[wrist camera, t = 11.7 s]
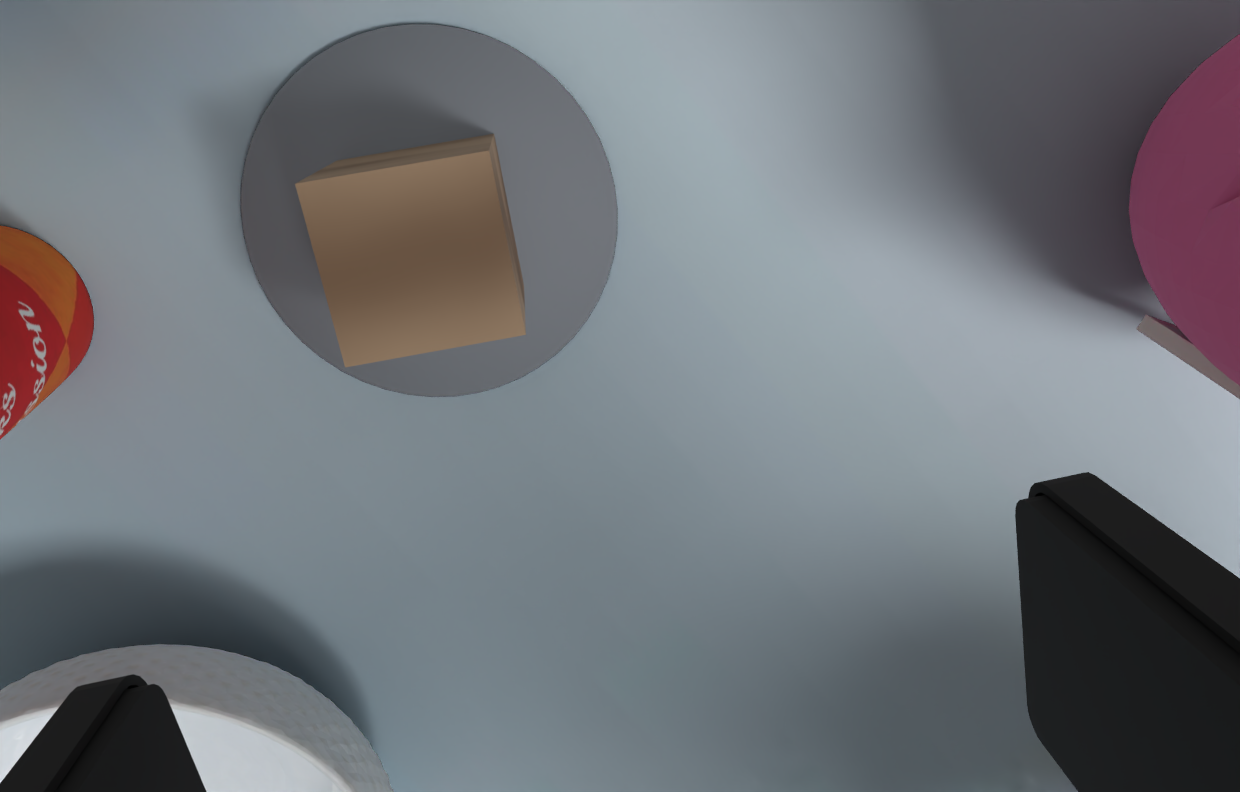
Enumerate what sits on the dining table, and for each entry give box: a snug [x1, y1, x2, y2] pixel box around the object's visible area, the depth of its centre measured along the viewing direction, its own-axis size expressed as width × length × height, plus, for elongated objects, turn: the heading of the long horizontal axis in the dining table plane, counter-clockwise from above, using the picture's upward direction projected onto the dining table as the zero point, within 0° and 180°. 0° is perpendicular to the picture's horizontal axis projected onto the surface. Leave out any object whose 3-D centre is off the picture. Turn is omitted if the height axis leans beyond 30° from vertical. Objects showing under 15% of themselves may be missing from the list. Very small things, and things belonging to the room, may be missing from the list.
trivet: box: [241, 24, 617, 397], centre depth 31 cm, size 12×12×1 cm
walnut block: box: [295, 134, 526, 367], centre depth 28 cm, size 5×5×6 cm
